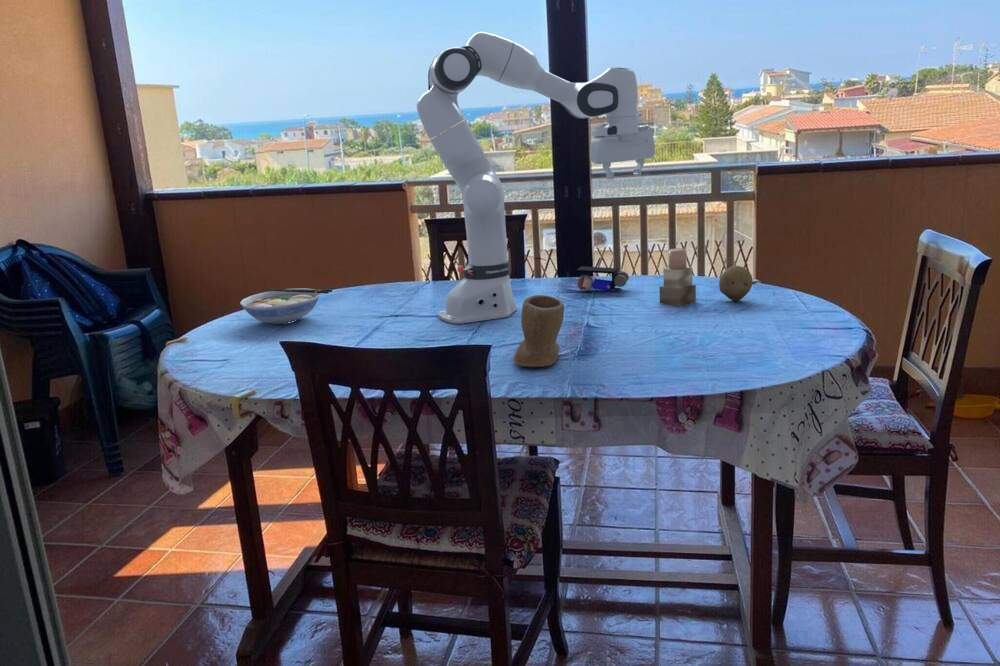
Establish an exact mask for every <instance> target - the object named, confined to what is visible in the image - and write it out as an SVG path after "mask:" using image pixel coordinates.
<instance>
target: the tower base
mask: <svg viewBox="0 0 1000 666" xmlns="http://www.w3.org/2000/svg"><path fill="white" fill-rule="evenodd" d="M696 286H697V285H696V284H694V283H692V285H690V286H687V287H683V288H679V289H678V288H672V287H667V286H664V284H663V285H660V286H659V289H658V290H659V304H661V303H662V305H665V306H666V305H667V306H673V307H677V308H681V307H683V306H684V307H685V306H687V305H690V304H694V303H697V300H696V299H697V298H696V297H697V296H696V295H697V289H696Z"/></svg>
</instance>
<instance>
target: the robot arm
mask: <svg viewBox="0 0 1000 666" xmlns="http://www.w3.org/2000/svg"><path fill="white" fill-rule="evenodd" d="M477 76H480V77H482V76H483V77H485V78H488V79H490V80H493V81H496V82H498V83H500V84H502V85H504V86H507V87H511V88H516V89H520V90H526V91H527V90H528V91H533V92H535V93H537V94H540V95H542V96H544V97H547V98H548V99H551V100H553V101H555V102H558V103H559V104H560V105H561V106H562V107H563V108H564V109H565V110H566V112H568V113H569V114H570V115H571V116H572V117H574V118H576V119H582V120H583V119H591V118H592V119H593V118H597V117H601V116H603V115H605V116H606V121H604V122H603V123H601V124H599V125H597V126H595V127H593V128H592V129H591V132H590V133H591V136H592V137H593V138H592V139H591V141H590V146H589V147H590V157H589V158H590V162H591V163H592V164H593V165H602V168H603V171H604V172H605V175H606V177H605V178H606V180H614V179H615V172H612V170H611V169H610V168H611V163H620V162H627V161H635V163H636V167H635V169H633V170H632V171H633V173H632V174H633V176H634V177H638V176H639V177H640V176H642V169H643V167H644V165H645V159H653V158H654V156H655V154H656V147H655V140H654V132H653V129H652V127H651V126H649V125H648V124H645V125H639V113H638V108H637V106H638V102H639V99H638V98H639V97H638V95H639V93H638V80H637V76H636V73H635V71H634V70H632V69H631V68H628V67H622V66H611V67H608V68H607V69H606V70H604V72H602V73H601V74H600V75H598V76H597V77H594V78H593V79H591V80H589V81H586V82H584V81H583V82H582V81H581V82H571V81H569V80H566V79H564V78H562V77H560V76H558V75H556V74H553V73H552V72H549V71H548V70H546V69H545V68H543V67H542V66H541V65H540V63H539V61H538V58H537V57H536V54H534V53H533V52H532V51H531V50H529V49H528V48H526V47H524V46H523V45H522V44H519V43H517V42H514V40H513V41H512V40H510V39H507V38H505V37H503V36H500V35H497V34H493V33H489V32H484V31H478V32H476V33H474V34H473V35H472V36H470V38H469V39H468V41H467V42H466V45H462V46H453V47H448V48H446V49H444V50H442V51H441V52H439V54H437V55H436V56H435V57H433V60H432V62H431V63H430V65H429V69H428V75H427V77H428V79H427V80H428V81H427V82H428V85H427V87H428V90H427V91H426V92H424V93H423V94H422V95H421V96H420V97H419V98H418V100H417V104H416V111H417V114H418V116H419V119H420V122H421V125H422V126H423V129H424V131H425V133H426V135H427V137H428V139H429V140H430V142H431V144H432V146H433V148H434V149H435V151H436V153H437V155H438V156H439V158H440V160H441V162H442V164H443V166H444V167H445V168H446V170H447V172H448V173H449V175H450V176H451V178H452V179H453V181H454V183H455V185H457V187H458V189H459V191H460V192H461V194H462V203H463V214H464V215H463V216H464V225H465V232H466V233H465V234H466V245H467V255H468V256H467V257H468V263H467V264H466V266H465V265H464V266H463V265H461V264H460V265H458V266H457V268H456V270H457V271H456V272H458V273H460V274H463V278H462V279H461V280H460V281H459V282H458V283H457V284H456V285H455V286H454V287H453V288H452V289H451V290H450V291H449V292H448V293H447V295H446V299H445V309H443V310H440V311H439V312H438V313H437V314H438V318H439V319H440V320H441V321H444V322H447V323H450V324H455V325H456V324H457V325H460V324H469V323H476V322H480V321H481V322H482V321H488V320H495V319H503V318H509V317H510V316H511V315H512V314H513V313H514V312H516V311H517V309H518V307H517V305H516V301H515V298H514V295H513V290H512V285H511V265H510V260H509V259H508V258H509V257H508V255H509V254H508V239H507V227H506V226H507V225H506V214H505V213H506V211H505V210H506V208H505V195H504V188H503V184H502V182H501V180H500V178H499V176H498V175H497V173H496V171H495V169H494V167H493V165H492V164H491V162H490V159H488V156H487V155H486V153H485V152H484V150H483V148H482V146H481V145H480V143H479V141H478V139H477V137H476V136H475V133H474V132H473V130H472V128H471V126H470V124H469V123H468V121H467V120H466V118H465V115H464V114H463V112H462V111H461V109H460V106H459V102H458V97H459V96H458V95H459V94H460V93H462V92H463V91H465V90H466V89H467V88H468V87H469V86H470V84H472V83H473V81H474V79H475V78H476V77H477Z"/></svg>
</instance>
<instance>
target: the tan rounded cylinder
mask: <svg viewBox="0 0 1000 666" xmlns="http://www.w3.org/2000/svg"><path fill="white" fill-rule="evenodd" d="M687 257H688V256H687V249H686V248H670V249H668V267H669V269H673V270H680V269H686V268H687V267H688V266H687V264H688V263H687Z"/></svg>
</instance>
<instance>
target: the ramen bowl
mask: <svg viewBox="0 0 1000 666" xmlns="http://www.w3.org/2000/svg"><path fill="white" fill-rule="evenodd" d="M262 291H265V292H261V293H257V294H253V295H250V296H248V297H247V296H246V297H245V298H243V299H242V300H241V301H240V302H239V304H240V305H241V307H242V309H243V310H245V312H246V313H247V314H249V315H250V316H251V317H252V318H254V319H255V320H258V321H260V322H264V323H270V324H272V325H274V324H283V325H285V324H284V323H288V322H292V321H295V320H297V319H298V320H299V319H301V318H303V317H304V316H307V315H309V313H310V312H312V311H313V310H314V308H315V307H316V305H317V302H319V301H318V300H319V298H320V294H329V293H333V289H315V288H305V287H304V288H286V289H284V288H283V289H278V288H277V289H274V288H273V289H267V288H266V289H262ZM298 320H297V321H298ZM295 322H296V321H295Z"/></svg>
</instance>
